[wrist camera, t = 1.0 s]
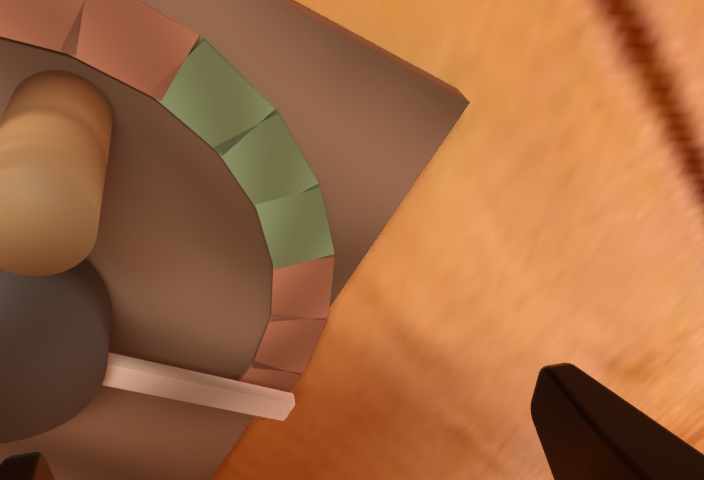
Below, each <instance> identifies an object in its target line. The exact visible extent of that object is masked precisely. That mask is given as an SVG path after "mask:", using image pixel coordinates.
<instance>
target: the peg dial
mask: <svg viewBox="0 0 704 480" xmlns="http://www.w3.org/2000/svg"><path fill="white" fill-rule="evenodd" d="M112 126H113V114H112V110H111V106H110V104H109V102H108V100H107V98H106V97H105V95H104V94H103V93H102V91H101V90H100V89H99V88H98V87H97V86H96V85H94V84H93V83H92V82H90V81H89V80H87V79H86V78H84V77H82V76H79V75H77V74H74V73H71V72H67V71H60V70H49V71H42V72H38V73H35V74H33V75H31V76H29V77H27V78H26V79H24V80H23V81H22V82H21V83H20V84H19V85H18V86H17V87H16V89H15V90H14V92H13V94H12V96H11V99H10V101H9V103H8V105H7V107H6V109H5V112H4V114H3V116H2V118H1V120H0V444H2V443H9V442H14V441H19V440H24V439H27V438H30V437H34V436H37V435H40V434H43V433H45V432H48V431H50V430H53V429H55V428H57V427H58V426H60V425H62V424H64V423H66V422H67V421H69V420H70V419H72V418H73V417H75V416H76V415H78V414H79V413H80V412H81V411H82V410H83V409H85V408H86V407H87V406H88V404H89V403H90V402H91V401H92V400H93V399H94V398H95V396H96V394H97V393H98V391H99V390H100V388H101V386H102V385H104V386H109V387H114V388H119V389H124V390H129V391H134V392H140V393H145V394H150V395H155V396H160V397H165V398H170V399H175V400H180V401H185V402H190V403H195V404H200V405H205V406H210V407H215V408H220V409H225V410H230V411H235V412H240V413H245V414H250V415H255V416H261V417H266V418H271V419H276V420H281V421H284V420H285V419H286V417H287V416H288V414H289V413H290V412H291V410H292V409H293V407H294V406H295V405H296V404H295V399H294V394H293V393H289V392H285V391H280V390H276V389H271V388H267V387H262V386H258V385H253V384H249V383H244V382H240V381H235V380H231V379H226V378H222V377H217V376H213V375H208V374H204V373H199V372H195V371H190V370H186V369H181V368H177V367H172V366H168V365H163V364H159V363H154V362H150V361H145V360H141V359H136V358H132V357H127V356H123V355H118V354H114V353H109V343H110V332H111V322H112V307H111V301H110V296H109V294H108V291H107V288H106V286H105V284H104V282H103V280H102V278H101V277H100V275H99V274H98V272H97V271H96V270H95V268H94V267H93V266H92V265H91V264H90V263H89V262H88V261H87V260H86V259H85V258H86V257H87V256H88V254H89V253H90V252H91V250H92V249H93V247H94V244H95V242H96V238H97V232H98V225H99V218H100V211H101V204H102V197H103V190H104V183H105V176H106V169H107V162H108V155H109V148H110V140H111V133H112Z"/></svg>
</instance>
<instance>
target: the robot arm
mask: <svg viewBox="0 0 704 480" xmlns="http://www.w3.org/2000/svg"><path fill="white" fill-rule="evenodd" d="M531 416H532V420H533V423H534V425H535V428H536V431H537V434H538V436H539V439H540V442H541V444H542V447H543V450H544V453H545V455H546V458H547V461H548V464H549V466H550V469H551V472H552V475H553V477H554V480H704V454H702V453H701V452H699V451H698V450H696V449H695V448H693V447H692V446H691V445H689V444H688V443H686V442H685V441H683V440H682V439H680V438H679V437H678V436H676V435H675V434H673V433H672V432H670V431H669V430H667V429H666V428H664V427H663V426H662V425H660V424H659V423H657V422H656V421H654V420H653V419H651V418H650V417H649V416H647V415H646V414H644V413H643V412H641V411H640V410H638V409H637V408H636V407H634V406H633V405H631V404H630V403H628V402H627V401H625V400H624V399H623V398H621V397H620V396H618V395H617V394H615V393H614V392H612V391H611V390H609V389H608V388H607V387H605V386H604V385H602V384H601V383H599V382H598V381H596V380H595V379H594V378H592V377H591V376H589V375H588V374H586V373H585V372H583V371H582V370H581V369H579V368H578V367H576V366H575V365H572V364H570V363H560V364H554V365H548V366H545V367H543V368H542V369H541V370H540V372H539V375H538V379H537V382H536V386H535V390H534V393H533V397H532V401H531ZM0 480H55V479H54V476H53V474H52V471H51V469H50V467H49V464H48V462H47V460H46V458H45V456H44V455H43V454H42V453H41V452H31V453H25V454H19V455H13V456H10V457H7V458H6V459H4V460H3V461H2V462H1V463H0Z"/></svg>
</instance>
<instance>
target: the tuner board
mask: <svg viewBox="0 0 704 480" xmlns="http://www.w3.org/2000/svg"><path fill="white" fill-rule="evenodd" d="M49 70H60V71H67V72H71V73H74V74H77V75H79V76H82V77H84V78H86V79H87V80H89V81H90V82H92V83H93V84H94V85H96V86H97V87H98V88H99V89H100V90H101V91H102V93H103V94H104V95H105V97H106V98H107V100H108V102H109V104H110V106H111V110H112V114H113V126H112V133H111V140H110V148H109V155H108V162H107V169H106V176H105V183H104V190H103V197H102V204H101V211H100V218H99V225H98V232H97V238H96V242H95V244H94V247H93V249H92V250H91V252H90V253H89V254H88V256H87V257H86V258H85V259H86V260H87V261H88V262H89V263H90V264H91V265H92V266H93V267H94V268H95V270H96V271H97V272H98V274H99V275H100V277H101V278H102V280H103V282H104V284H105V286H106V288H107V291H108V294H109V296H110V301H111V307H112V322H111V332H110V343H109V353H114V354H118V355H123V356H127V357H132V358H136V359H141V360H145V361H150V362H154V363H159V364H163V365H168V366H172V367H177V368H181V369H186V370H190V371H195V372H199V373H204V374H208V375H213V376H217V377H222V378H226V379H231V380H235V381H240V382H244V383H249V384H253V385H258V386H262V387H267V388H271V389H276V390H280V391H285V392H289V391H290V389H291V388H292V387H293V386H294V385H295V383H296V382H297V381H298V380H299V379H300V377H301V376H302V375H301V373H304V371H305V369H306V367H307V364H308V362H309V360H310V358H311V356H312V353H313V351H314V349H315V347H316V345H317V342H318V340H319V338H320V336H321V333H322V331H323V329H324V327H325V325H326V322H327V319H326V318H328V314H329V307H330V306H331V304H332V303H333V301H334V300H335V298H336V297H337V296H338V294H339V293H340V291H341V290H342V288H343V287H344V285H345V284H346V282H347V281H348V279H349V278H350V277H351V275H352V274H353V272H354V271H355V269H356V268H357V266H358V265H359V263H360V262H361V261H362V259H363V258H364V256H365V255H366V253H367V252H368V250H369V249H370V247H371V246H372V244H373V243H374V242H375V240H376V239H377V237H378V236H379V234H380V233H381V231H382V230H383V228H384V227H385V225H386V224H387V223H388V221H389V220H390V218H391V217H392V215H393V214H394V212H395V211H396V209H397V208H398V206H399V205H400V204H401V202H402V201H403V199H404V198H405V196H406V195H407V193H408V192H409V190H410V189H411V188H412V186H413V185H414V183H415V182H416V180H417V179H418V177H419V176H420V174H421V173H422V171H423V170H424V169H425V167H426V166H427V164H428V163H429V161H430V160H431V158H432V157H433V155H434V154H435V152H436V151H437V150H438V148H439V147H440V145H441V144H442V142H443V141H444V139H445V138H446V136H447V135H448V134H449V132H450V131H451V129H452V128H453V126H454V125H455V123H456V122H457V120H458V119H459V117H460V116H461V115H462V113H463V112H464V110H465V109H466V107H467V106H468V104H469V103H470V102H469V101H468V100H467V99H466V98H465V97H464V96H463V94H462V93H461V92H460V91H459V90H458V89H457V88H455V87H453V86H451V85H449V84H447V83H445V82H444V81H442V80H440V79H438V78H436V77H434V76H433V75H431V74H429V73H427V72H425V71H423V70H421V69H420V68H418V67H416V66H414V65H412V64H410V63H409V62H407V61H405V60H403V59H401V58H399V57H397V56H396V55H394V54H392V53H390V52H388V51H386V50H385V49H383V48H381V47H379V46H377V45H375V44H373V43H372V42H370V41H368V40H366V39H364V38H362V37H361V36H359V35H357V34H355V33H353V32H351V31H349V30H348V29H346V28H344V27H342V26H340V25H338V24H337V23H335V22H333V21H331V20H329V19H327V18H325V17H324V16H322V15H320V14H318V13H316V12H314V11H313V10H311V9H309V8H307V7H305V6H303V5H301V4H300V3H298V2H296V1H294V0H0V120H1V118H2V116H3V114H4V112H5V109H6V107H7V105H8V103H9V101H10V99H11V96H12V94H13V92H14V90H15V89H16V87H17V86H18V85H19V84H20V83H21V82H22V81H23V80H24V79H26V78H27V77H29V76H31V75H33V74H35V73H38V72H42V71H49ZM254 417H255V418H259V419H262V420H265V419H266V417H261V416H255V415H250V414H245V413H240V412H235V411H230V410H225V409H220V408H215V407H210V406H205V405H200V404H195V403H190V402H185V401H180V400H175V399H170V398H165V397H160V396H155V395H150V394H145V393H140V392H134V391H129V390H124V389H119V388H114V387H109V386H104V385H102V386H101V388H100V390H99V391H98V393H97V394H96V396H95V398H94V399H93V400H92V401H91V402H90V403H89V404H88V406H87V407H86V408H85V409H83V410H82V411H81V412H80V413H79V414H78V415H76V416H75V417H73V418H72V419H70V420H69V421H67V422H66V423H64V424H62V425H60V426H58V427H57V428H55V429H53V430H50V431H48V432H45V433H43V434H40V435H37V436H34V437H30V438H27V439H24V440H19V441H14V442H9V443H2V444H0V463H1V462H2V461H3V460H4V459H6V458H7V457H10V456H13V455H19V454H25V453H31V452H41V453H42V454H43V455H44V456H45V458H46V460H47V462H48V464H49V467H50V469H51V471H52V474H53V476H54V479H55V480H211V479H212V478H213V477H214V475H215V474H216V472H217V471H218V469H219V468H220V466H221V465H222V463H223V462H224V460H225V459H226V458H227V456H228V455H229V453H230V452H231V450H232V449H233V447H234V446H235V444H236V443H237V442H238V440H239V439H240V437H241V436H242V434H243V433H244V431H245V430H246V428H247V427H248V425H249V424H250V423H251V421H252V420H253V418H254Z"/></svg>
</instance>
